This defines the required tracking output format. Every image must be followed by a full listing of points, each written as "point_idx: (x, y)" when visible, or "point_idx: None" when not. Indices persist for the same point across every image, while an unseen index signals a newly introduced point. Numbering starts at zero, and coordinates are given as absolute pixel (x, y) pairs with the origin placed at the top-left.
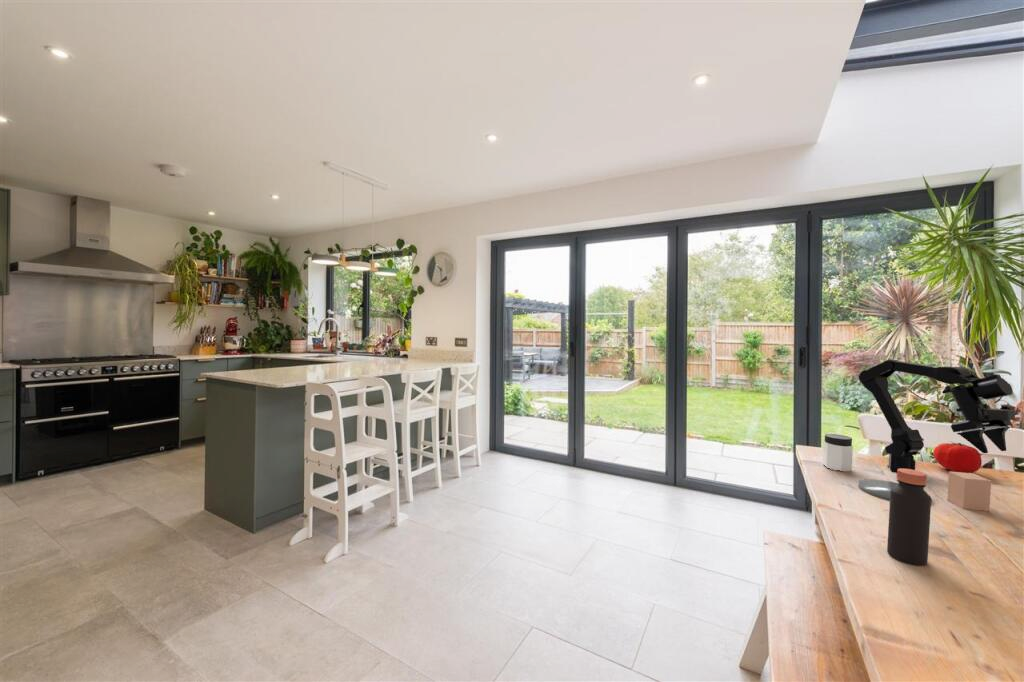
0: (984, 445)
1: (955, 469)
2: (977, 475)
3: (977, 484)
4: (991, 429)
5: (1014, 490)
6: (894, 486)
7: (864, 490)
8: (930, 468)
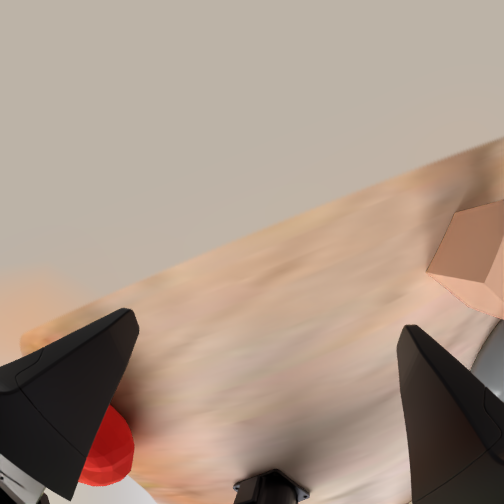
0: (458, 362)
1: (127, 425)
2: (499, 258)
3: None
4: (25, 471)
5: (125, 289)
6: (499, 394)
7: None
8: (153, 460)
